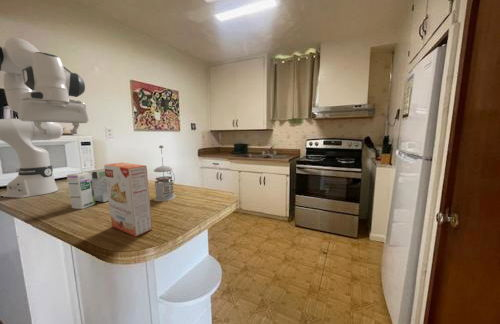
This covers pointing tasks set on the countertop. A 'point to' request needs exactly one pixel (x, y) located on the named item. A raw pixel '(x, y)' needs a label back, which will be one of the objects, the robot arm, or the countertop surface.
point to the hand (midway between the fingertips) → (59, 134)
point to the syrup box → (81, 190)
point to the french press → (164, 184)
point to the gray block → (100, 188)
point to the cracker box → (129, 197)
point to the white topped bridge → (98, 173)
